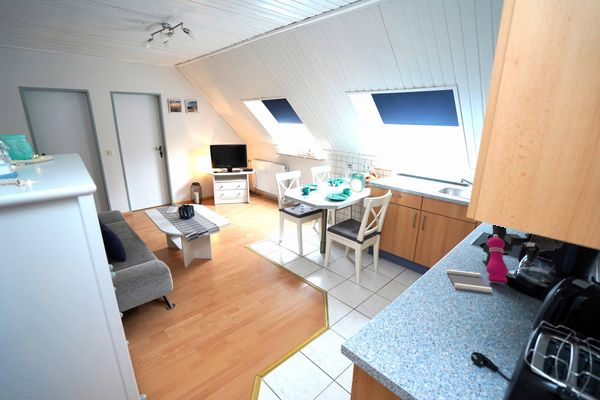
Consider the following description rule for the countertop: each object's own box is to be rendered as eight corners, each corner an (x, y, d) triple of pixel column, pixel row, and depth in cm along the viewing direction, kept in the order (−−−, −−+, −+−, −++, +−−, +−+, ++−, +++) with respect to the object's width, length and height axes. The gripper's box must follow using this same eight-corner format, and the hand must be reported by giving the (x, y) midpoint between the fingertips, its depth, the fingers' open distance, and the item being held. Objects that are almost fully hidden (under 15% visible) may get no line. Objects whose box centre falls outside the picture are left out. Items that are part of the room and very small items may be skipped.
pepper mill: (513, 283, 110) (510, 235, 117) (499, 278, 109) (496, 230, 116) (496, 283, 117) (494, 238, 124) (482, 279, 115) (481, 233, 122)
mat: (446, 273, 122) (447, 269, 121) (479, 277, 119) (480, 273, 119) (454, 288, 111) (455, 284, 110) (491, 293, 108) (492, 289, 107)
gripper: (523, 229, 98) (513, 268, 102) (585, 234, 94) (572, 275, 98) (507, 219, 109) (499, 255, 113) (563, 223, 105) (552, 260, 109)
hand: (530, 261), depth 108 cm, fingers closed
